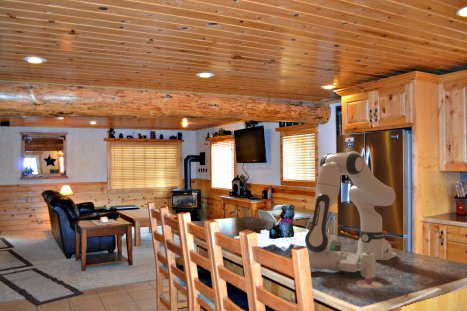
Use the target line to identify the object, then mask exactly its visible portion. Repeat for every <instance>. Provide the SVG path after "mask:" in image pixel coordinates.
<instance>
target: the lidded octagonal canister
mask: <svg viewBox="0 0 467 311" xmlns="http://www.w3.org/2000/svg"><path fill="white" fill-rule="evenodd" d="M365 263H366V264H369V268H362V269H360V276H361V277H363V278H366V277H371V278H372V279H373V278H376V277H377V269H376V268H377V260H376V257H375V254H374V253H370V251H366V253H361V263H360V264H365Z"/></svg>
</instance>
